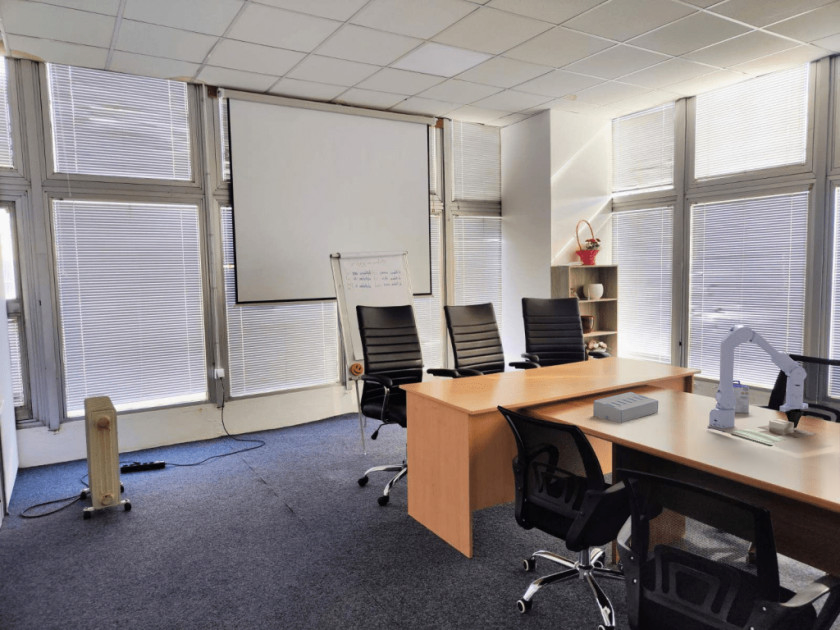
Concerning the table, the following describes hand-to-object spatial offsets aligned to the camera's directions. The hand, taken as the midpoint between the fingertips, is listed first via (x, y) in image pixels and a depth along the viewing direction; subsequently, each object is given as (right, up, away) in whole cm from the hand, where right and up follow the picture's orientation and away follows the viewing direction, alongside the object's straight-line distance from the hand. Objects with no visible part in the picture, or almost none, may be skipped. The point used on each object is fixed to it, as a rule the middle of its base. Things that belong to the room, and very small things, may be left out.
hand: (793, 427), depth 227 cm
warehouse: (-56, -1, +32) cm, 65 cm away
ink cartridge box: (-3, 0, +36) cm, 36 cm away
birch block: (-7, -1, -3) cm, 7 cm away
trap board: (-10, -3, -4) cm, 12 cm away
